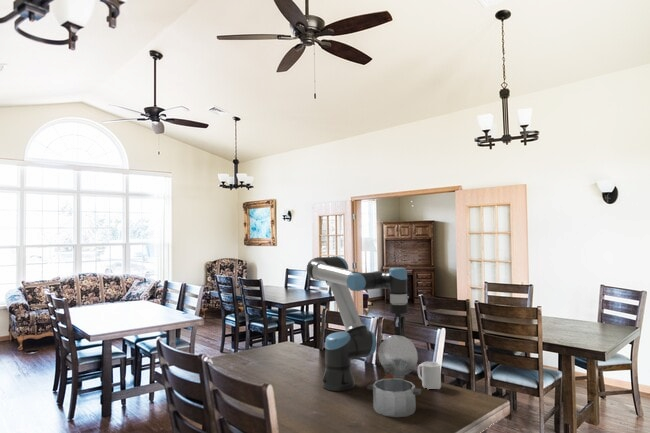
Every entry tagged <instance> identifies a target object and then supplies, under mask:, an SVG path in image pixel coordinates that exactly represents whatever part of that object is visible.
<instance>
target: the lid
mask: <svg viewBox="0 0 650 433" xmlns="http://www.w3.org/2000/svg"><path fill="white" fill-rule="evenodd" d="M377 353H378V354H377V355H378V360H379V363H380V365H381V366H382V368H383V369H384V370H385V371H387V373H389V374H393V375H392V377H396V378H404V379H405V376H406V375H409V374H411V372H413V371H414V369H415V368H416V366H417V363H418V359H419V358H418V350H417V348H416V346H415V345H414V343H413V342H412V341H411V340H410V339H409V338H408V337H406V336H405V335H404V336H400V335H395V334H393V335H389V336H387V337H386V338H385V339H384V340H383V341H381V343H380V345H379V348H378V352H377Z"/></svg>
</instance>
